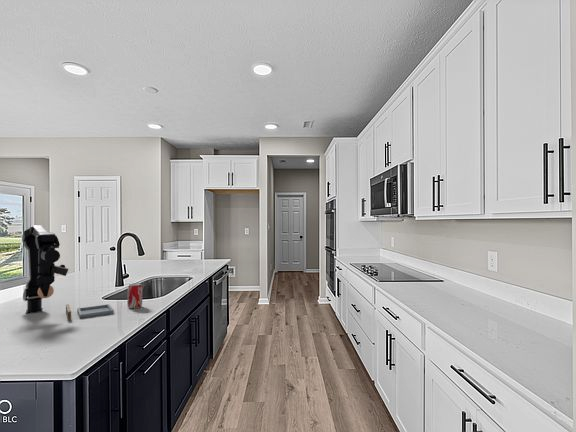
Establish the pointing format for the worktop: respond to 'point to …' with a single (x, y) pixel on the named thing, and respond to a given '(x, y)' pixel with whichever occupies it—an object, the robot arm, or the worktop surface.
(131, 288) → the soda can
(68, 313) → the fence
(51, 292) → the ball
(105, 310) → the dish
